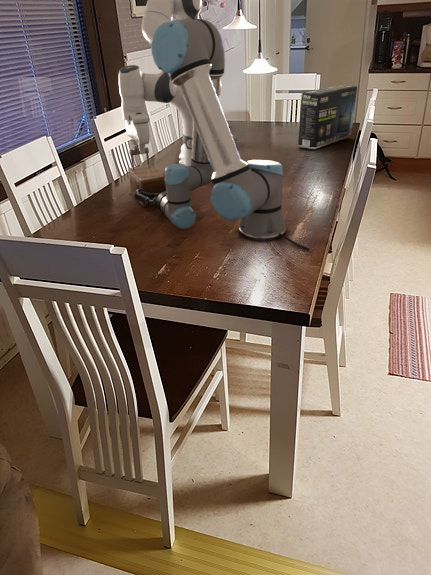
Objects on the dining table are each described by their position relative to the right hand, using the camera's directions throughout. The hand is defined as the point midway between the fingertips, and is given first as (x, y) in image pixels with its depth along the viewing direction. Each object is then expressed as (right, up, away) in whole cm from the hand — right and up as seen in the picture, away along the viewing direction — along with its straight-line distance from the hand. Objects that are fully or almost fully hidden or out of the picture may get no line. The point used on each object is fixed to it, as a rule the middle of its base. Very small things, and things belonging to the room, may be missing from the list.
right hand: (150, 186), depth 175 cm
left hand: (-5, +14, +3) cm, 15 cm away
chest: (-1, -3, +6) cm, 7 cm away
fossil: (+27, +37, +72) cm, 85 cm away
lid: (-2, +5, +2) cm, 6 cm away
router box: (+83, +38, +70) cm, 115 cm away
